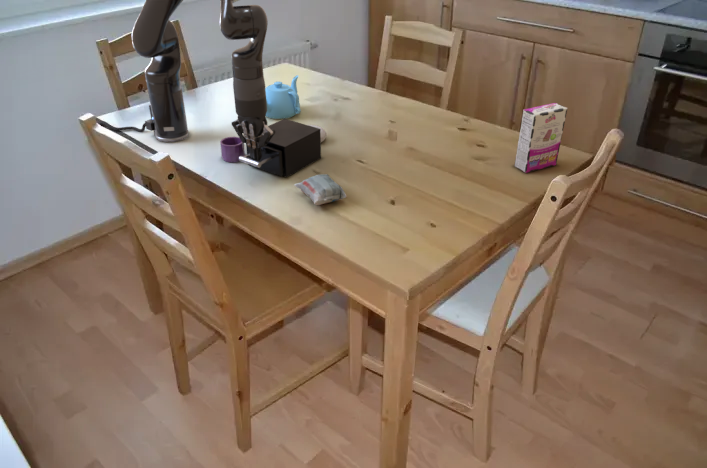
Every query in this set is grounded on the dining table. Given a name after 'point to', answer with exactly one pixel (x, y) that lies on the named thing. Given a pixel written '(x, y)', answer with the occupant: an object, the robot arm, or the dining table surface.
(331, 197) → the packaged food
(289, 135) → the cabinet
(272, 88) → the teapot
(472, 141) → the dining table surface
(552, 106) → the candy bar box
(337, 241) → the dining table surface
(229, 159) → the cup
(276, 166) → the drawer
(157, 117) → the robot arm
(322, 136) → the donut
